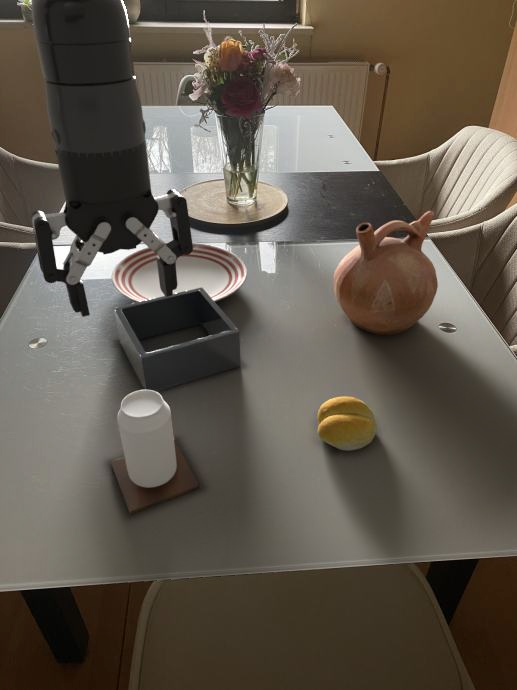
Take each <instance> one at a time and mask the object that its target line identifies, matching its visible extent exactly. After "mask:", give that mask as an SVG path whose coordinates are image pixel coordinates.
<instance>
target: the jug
mask: <svg viewBox="0 0 517 690" xmlns="http://www.w3.org/2000/svg"><path fill="white" fill-rule="evenodd" d="M435 215H436V214H435V212H434V211H433V210H428V211H426V212H424V214H423V215H421V216H420V218H419V219H418V220H414V221H412V222H410V223H408V222H406V221H403V220H398V219H397V220H391V221H388V222H387V223H384V224H383V225H382V226H380V227H379V228H378V229H376V230H374V228H373V225H372V223H369V222H362V223H360V224H358V225H357V227H356V228H355V234H356V238H357V241H358V245H357V246H356V247H354V248H353V249H352V250H350V251H349V252H348V253H347V254H346V255H345V256H344V257H343V258H342V259H341V261H339V263H338V265H337V267H336V269H335V270H334V274H333V291H334V295H335V296H334V297H335V299H336V301H337V303H338V304H339V306H340V308H341V310H342V311H343V313H344V314H345V315H346V316H347V318H348V320H349V321H351V323H352V324H353V325H354V326H356V327H357V328H359V329H361V330H363V331H365V332H368V333H370V334H374V335H380V336H381V335H382V336H384V335H385V336H389V335H397V334H401V333H402V332H404V331H406V330H408V329H409V328H410V327H412V326H413V325H414V324H416V323H418V322H419V321H420V320H421V319H422V318H423V317H424V316H425V315H426V314H427V313H428V311H429V310H430V308H431V306H432V304H433V303H434V300H435V297H436V294H437V292H438V287H439V284H438V283H439V281H438V276H437V271H436V267H435V266H434V263H433V262H432V261H431V259H430V258H429V257H428V256H427V255H426V254H425V253H424V252H423V250H422V247H423V243H424V241H425V239H426V236H427V233H428V231H429V229H430V226H431V224H432V222H433V220H434V219H435ZM396 232H403V233H405V234H407V236H406V237H405V238H403V239H400V238H396V237H390V235H391V234H394V233H396Z"/></svg>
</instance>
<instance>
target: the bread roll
mask: <svg viewBox="0 0 517 690" xmlns="http://www.w3.org/2000/svg"><path fill="white" fill-rule="evenodd" d="M317 422H318V427H317V434H318V437H319V438H320V440H322V441H323V442H324V443H326V444H328V445H329V446H332V447H334V448H336V449H338V450H340V451H347V452H350V451H356V450H360V449H362V448H365V447H366V446H368V445H369V444H370V443H371V442H372V441H373V440H374V438H375V436H376V433H377V429H378V428H377V426H378V425H377V422H376V418H375V415H374V413H373V411H372V409H371V408H370V407H369V405H368V404H367V403H366V402H364V401H362V400H361V399H359V398H356V397H352V396H338V397H333V398H330V399H327V400H326V401H325V402H324V403H322V404H321V405H320V407H319V409H318V412H317Z"/></svg>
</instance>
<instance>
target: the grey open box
mask: <svg viewBox="0 0 517 690" xmlns="http://www.w3.org/2000/svg"><path fill="white" fill-rule="evenodd" d="M113 312H114V316H115V323H116V328H117V333H118V335H117V336H118V340H119V343H120V345H121V347H122V349H123V351H124V353H125V355H126V357H127V359H128V361H129V362H130V364H131V366H132V369H133V371H134V372H135V375H136V376H137V378H138V380H139V382H140V384H141V386H142V388H143V390H152V391H155V392H157V393H158V392H160V391H163V390H166V389H170V388H173V387H177V386H181V385H184V384H187V383H190V382H194V381H196V380H200V379H203V378H207V377H210V376H214V375H216V374H220V373H223V372H227V371H230V370H233V369H237V368H240V367H241V331H240V330H239V328H238V327H237V326H236V324H234V322H233V321H232V320H231V319H230V318H229V317H228V315H227V314H226V313H225V312H224V311H223V310H222V309H221V307H220V306H219V305H218V304H217V303H216V302H214V301H213V299H212V298H211V297H210V296H209V295H208V294H207V292H206V291H205V290H204V289H203V288H202V287H201V288H197V289H192V290H188V291H184V292H179V293H175V294H173V295H172V296H168V297H166V296H162V297H158V298H154V299H150V300H145V301H141V302H137V301H136V302H133V303H129V304H124V305H120V306H116V307H114V308H113ZM198 325H202V327H203V328H204V329H205V330H206V332H207V333H208V334H209V335H208V336H205V337H201V338H196V339H193V340H190V341H186V342H183V343H179V344H175V345H171V346H168V347H164V348H161V349H155V350H153V351H150V352H146V351H145V349H144V347H143V345H142V344H141V342H140V340H144V339H147V338H152V337H155V336H159V335H163V334H166V333H170V332H174V331H179V330H182V329H186V328H190V327H194V326H198Z"/></svg>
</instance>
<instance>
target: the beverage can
mask: <svg viewBox="0 0 517 690" xmlns="http://www.w3.org/2000/svg"><path fill="white" fill-rule="evenodd" d="M116 420H117V425H118V431H119V436H120V440H121V446H122V450H123V457H125V461H126V466H127V470H128V474H129V477H130V479H131V480H132V482H134V483H135V484H136V485H138V486H141V487H147V488H151V487H157V486H160V485H163V484H165V483H166V482H168V481H169V480H170V479H171V478H172V477H173V476H174V474H175V472H176V467H177V463H176V454H175V445H174V440H175V438H174V430H173V429H174V428H173V420H172V413H171V407H170V406H169V404H168V402H166V401H165V400H164V397H163V396H162V395H161V394H160V393H159V392H158V391H157V392H155V391H152V390H144V389H140V390H135V391H133V392H131V393H129V394H127V395H126V396H125V397H124V398H123V399H122V401H121V404H120V409H119V410H118V413H117V415H116Z"/></svg>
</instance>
